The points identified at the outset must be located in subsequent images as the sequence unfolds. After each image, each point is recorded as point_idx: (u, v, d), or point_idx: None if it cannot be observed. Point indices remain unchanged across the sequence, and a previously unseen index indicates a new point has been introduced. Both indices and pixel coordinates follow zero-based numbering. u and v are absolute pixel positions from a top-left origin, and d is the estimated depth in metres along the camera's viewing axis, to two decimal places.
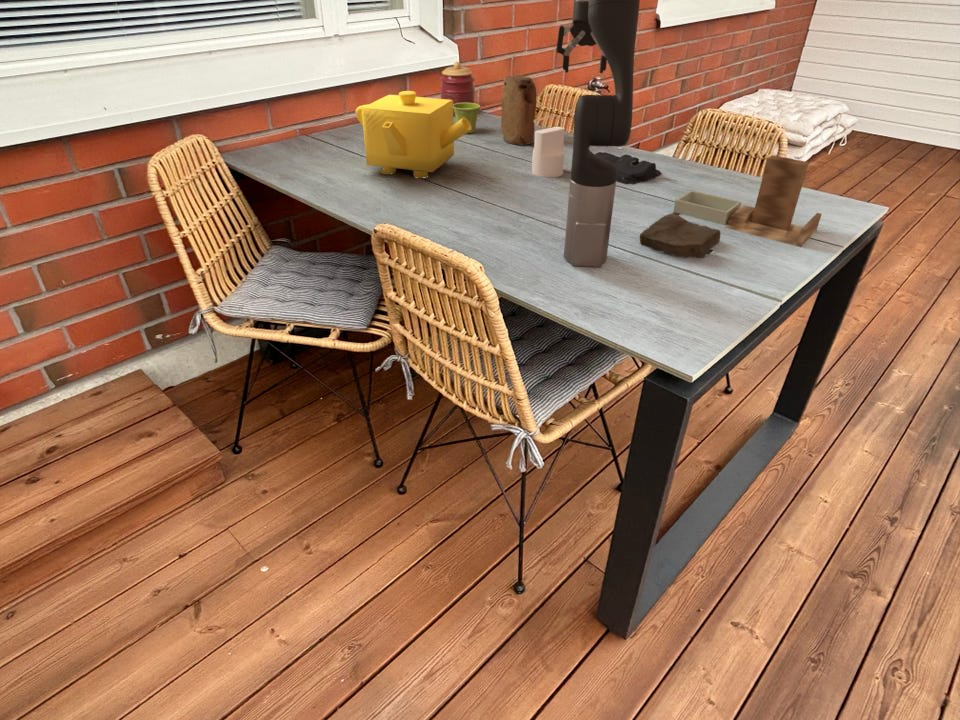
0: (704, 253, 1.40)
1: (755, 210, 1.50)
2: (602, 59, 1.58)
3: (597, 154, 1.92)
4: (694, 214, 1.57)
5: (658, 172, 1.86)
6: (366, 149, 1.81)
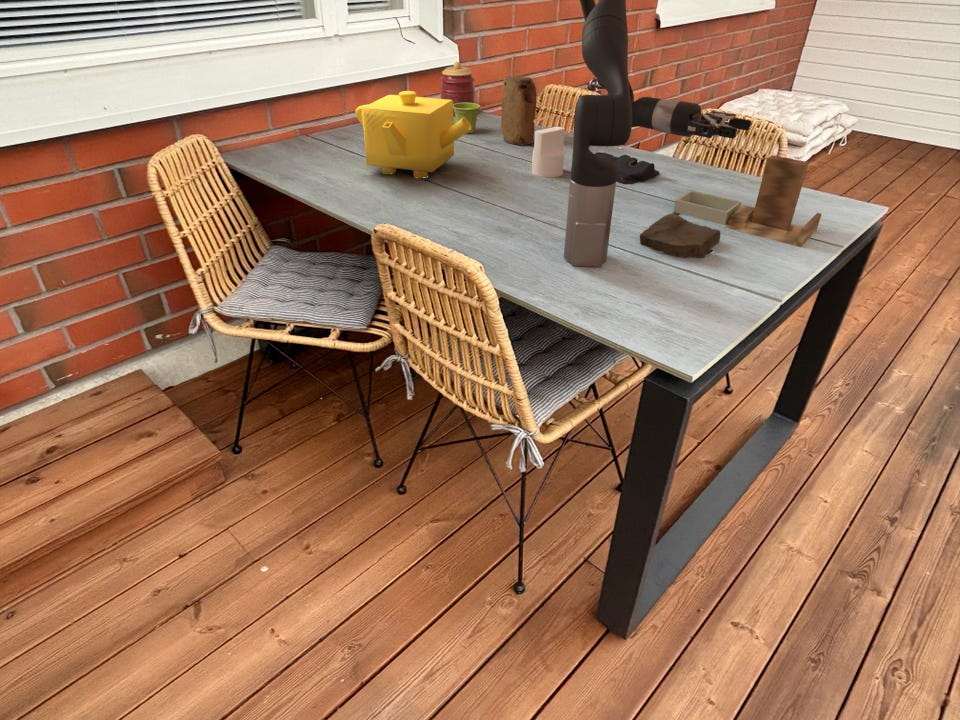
0: (704, 254, 1.40)
1: (755, 210, 1.50)
2: (737, 118, 1.49)
3: (596, 154, 1.92)
4: (694, 214, 1.57)
5: (656, 172, 1.86)
6: (366, 149, 1.81)
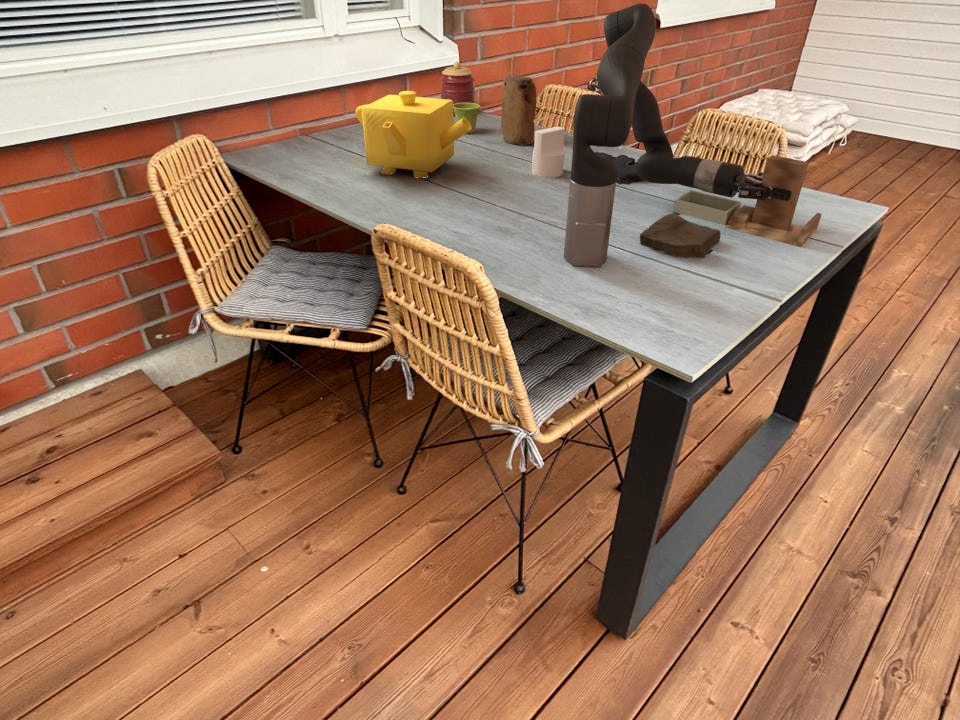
0: (704, 254, 1.40)
1: (755, 210, 1.50)
2: None
3: None
4: (694, 214, 1.57)
5: None
6: (366, 149, 1.81)
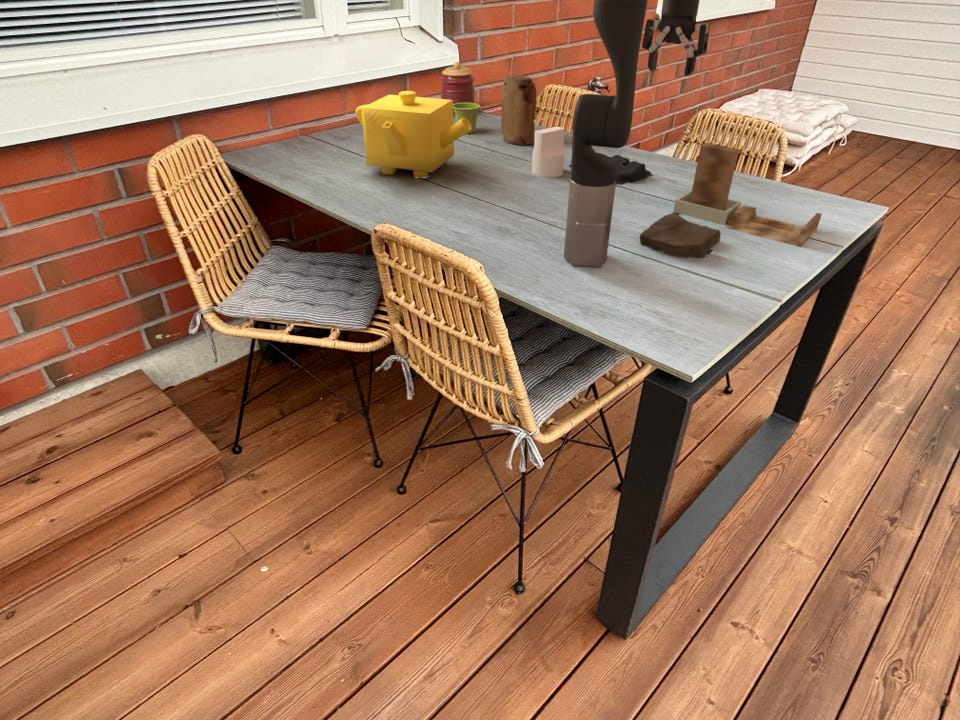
0: (704, 254, 1.40)
1: (692, 195, 1.58)
2: (687, 60, 1.41)
3: None
4: (694, 214, 1.57)
5: (648, 172, 1.85)
6: (366, 149, 1.81)
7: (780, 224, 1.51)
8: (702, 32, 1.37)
